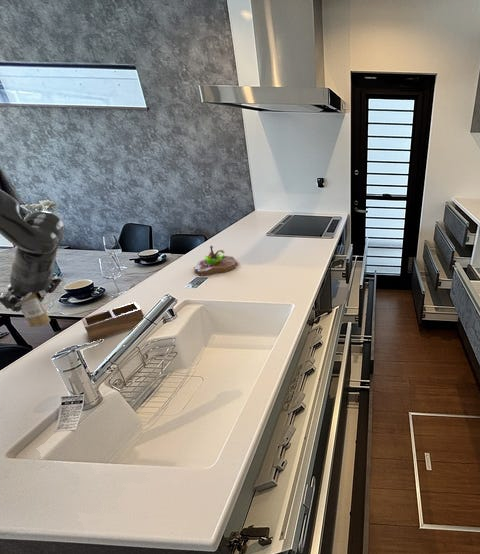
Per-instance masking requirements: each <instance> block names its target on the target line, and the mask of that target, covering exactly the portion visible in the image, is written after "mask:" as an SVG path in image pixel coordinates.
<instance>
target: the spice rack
mask: <svg viewBox="0 0 480 554" xmlns="http://www.w3.org/2000/svg"><path fill="white" fill-rule="evenodd" d="M143 317H144V318H145V315H144V313H143V310H142V308H141V307H140V305H139V304H138V303H137V301H133V302H130V303H127V304H123V305H121V306H117V307H114V308H111V309H108V310H104V311H101V312H98V313H94V314H91V315H87V316H85V317H82V318H81V320H82V324H83V327H84V329H85V331H86V333H87V335H88V337H89V339H90V341H91V343H94V342H93V341H95V342H97V341H96V340H98V341H100V340H99V339H101V340H103V339H107V338H109V337H112V336H114V335H117V334H120V333H123V332H126V331H130V330H132V329H134V328H136V327H135V326H136V325H137V324H138V323H139V322H140V321H141V320H142V319H143Z"/></svg>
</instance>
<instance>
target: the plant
mask: <svg viewBox="0 0 480 554" xmlns="http://www.w3.org/2000/svg"><path fill="white" fill-rule="evenodd" d="M213 248H214V246H213V245H209V249H210V252H209V253H208V255H205V256H204V257H205V258H204V259H201V260H199V261H198V262H196V266H194V267H193V270H194V273H195V274H197V275H198V276H209V275H214V274H219V273H220V274H221V273H226V272H229V271H232V270H235V269H236V266H237V265H238V263H237V260H236V258H235V257H234V256H232V255H225V251H224V250H223V249H222V250H221V249H220V250H217V251H216V252H214V250H213ZM220 253H222V255H221V254H220Z"/></svg>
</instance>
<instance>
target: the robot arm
mask: <svg viewBox="0 0 480 554" xmlns="http://www.w3.org/2000/svg"><path fill="white" fill-rule="evenodd" d="M20 210H21V204H20V202H19V200H18V199H16V198H15V197H13V196H12V195H10V194H9V193H7V192H5V191H4V190H2V189H0V235H1V236H2V237H3V238H4V239H6V241H8V242H9V243H11V244H12V245H13V246H15V247H16V249H15V252H14V258H13V261H12V263H11V270H10V277H9V283H10V284H11V287H10V288H9V289H8V288H7V291H5V292H2V293H0V304H1V305H3V306H4V308H6V309H7V310H8V309H10V310H11V311H12V312H15V313H19V312H21V303H22V302H24V301H26V300H27V298H28V297H29V296H30V295H32V294H36V295H37V297H38V299H39V300H40V302H41V303H42V304H43V301H44V299H45V297H46V296H47V294H52V293H54V292H55V290H56V289H57V288H58V286H59V285H60V284H61V283H62V279H61V278H60V277H59V276H58V275H57V274H55V273H54V272H55V262H56V259H57V258H56V257H57V252H58V248H59V246H60V244H61V242H62V239H63V237H64V235H65V231H66V225H65V222H64V221H63V219H62V218H61V217H59V216H58V215H56V214H55V213H52V212H50V211H45V210H37V211H33V212H30V213H29V214H27V215H26V216H25V217H24V218H23V217H22V216H21V213H20Z"/></svg>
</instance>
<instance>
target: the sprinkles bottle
mask: <svg viewBox="0 0 480 554" xmlns="http://www.w3.org/2000/svg"><path fill="white" fill-rule="evenodd" d="M10 287H11V283H10V284H8V285H7V286H6V289H7V290H8V289H9V288H10ZM20 312H21V313H22V314H23V316H24V318H25V319H26V321H27V323H28V324H29V327H31V328H37V327H38V328H39V327H41V326H45V325H46V324H48V323H50V322H51V318H50V317H49V316H48V313H47V312H46V308H45V307H44V305H43V302H42V303H41V302H40V300H39V299H38V297H37V295H36V294H32V295H30V296H29V297H28V298H27V300H26V301H24V302H22V303H21V310H20Z"/></svg>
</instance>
